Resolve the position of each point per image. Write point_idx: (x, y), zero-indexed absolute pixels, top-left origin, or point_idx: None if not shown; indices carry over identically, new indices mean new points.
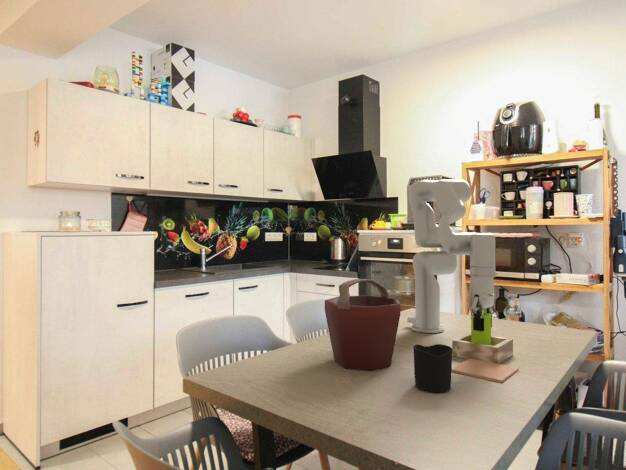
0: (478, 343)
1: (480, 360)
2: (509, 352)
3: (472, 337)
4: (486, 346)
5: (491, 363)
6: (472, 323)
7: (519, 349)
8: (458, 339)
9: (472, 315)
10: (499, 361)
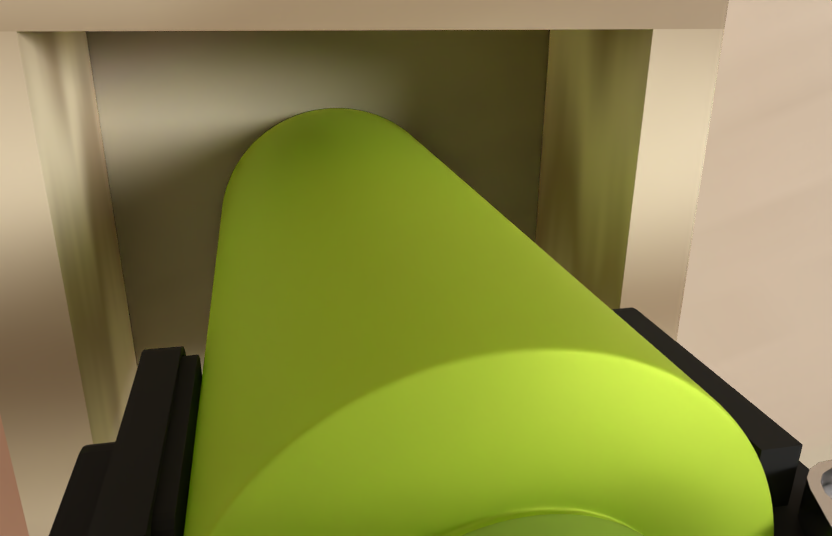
0: (68, 384)
1: None
2: None
3: (242, 222)
4: (29, 509)
5: (8, 479)
6: (240, 335)
7: (793, 393)
8: (58, 6)
9: (237, 469)
10: None
